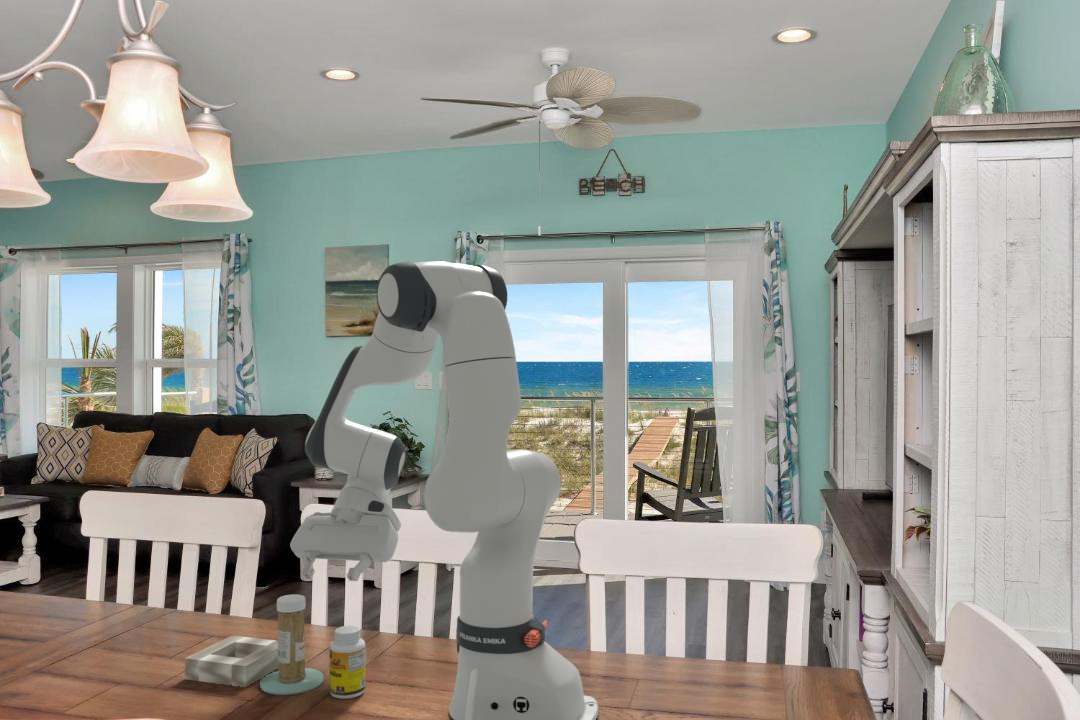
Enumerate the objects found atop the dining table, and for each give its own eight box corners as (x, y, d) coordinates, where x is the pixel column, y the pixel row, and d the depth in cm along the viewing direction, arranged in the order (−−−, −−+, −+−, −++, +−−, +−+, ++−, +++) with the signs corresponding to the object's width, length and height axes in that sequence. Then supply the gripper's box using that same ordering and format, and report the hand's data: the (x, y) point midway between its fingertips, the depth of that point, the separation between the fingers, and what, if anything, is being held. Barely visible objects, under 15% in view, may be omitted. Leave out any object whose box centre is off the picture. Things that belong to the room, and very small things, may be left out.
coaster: (334, 675, 140) (334, 671, 140) (300, 698, 130) (300, 694, 130) (284, 668, 143) (284, 665, 143) (246, 690, 134) (246, 686, 134)
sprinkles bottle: (309, 680, 136) (309, 598, 136) (281, 686, 134) (281, 602, 134) (300, 671, 140) (300, 591, 140) (273, 677, 138) (273, 596, 138)
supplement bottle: (324, 692, 133) (323, 628, 133) (356, 683, 136) (356, 621, 136) (338, 703, 129) (338, 637, 129) (371, 694, 132) (371, 630, 132)
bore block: (289, 661, 146) (289, 642, 146) (245, 687, 135) (245, 666, 135) (232, 654, 150) (232, 635, 150) (185, 679, 138) (184, 658, 138)
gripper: (301, 502, 159) (271, 565, 150) (397, 505, 153) (371, 571, 143) (315, 522, 163) (286, 584, 154) (409, 525, 157) (385, 590, 148)
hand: (328, 577), depth 149 cm, fingers open, 8 cm apart
